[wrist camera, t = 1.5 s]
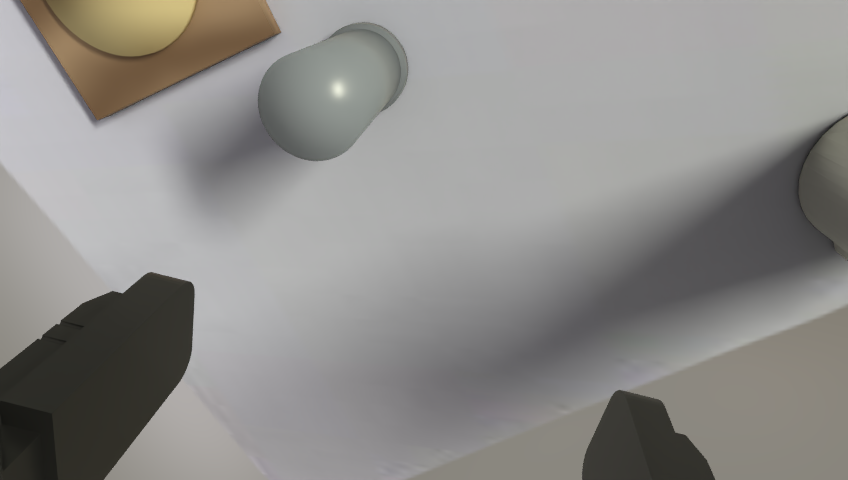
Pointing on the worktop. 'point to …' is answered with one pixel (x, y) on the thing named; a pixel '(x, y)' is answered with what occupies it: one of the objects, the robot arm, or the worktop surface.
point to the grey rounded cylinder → (332, 90)
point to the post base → (144, 42)
